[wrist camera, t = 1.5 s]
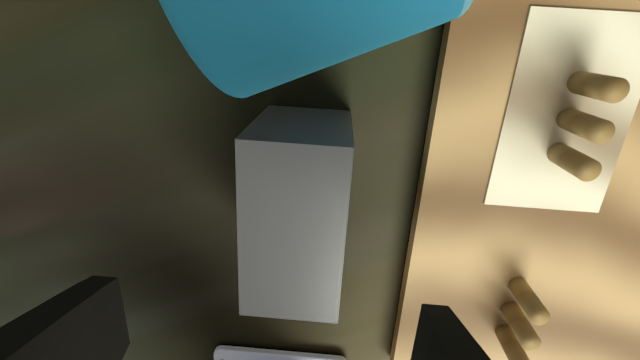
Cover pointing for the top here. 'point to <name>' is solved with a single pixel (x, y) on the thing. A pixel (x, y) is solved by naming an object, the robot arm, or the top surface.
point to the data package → (293, 35)
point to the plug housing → (293, 212)
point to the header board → (532, 183)
